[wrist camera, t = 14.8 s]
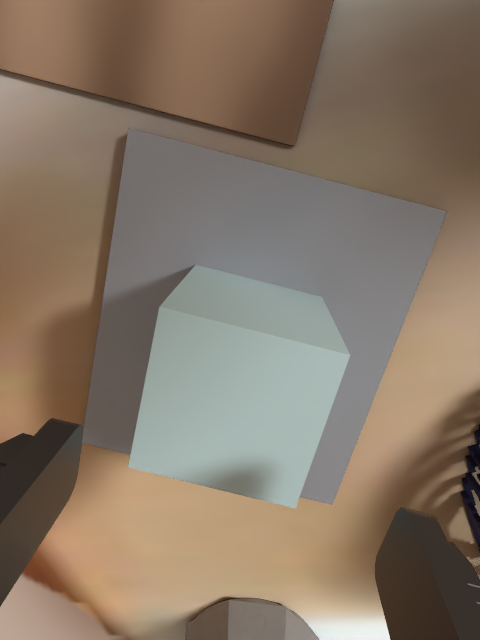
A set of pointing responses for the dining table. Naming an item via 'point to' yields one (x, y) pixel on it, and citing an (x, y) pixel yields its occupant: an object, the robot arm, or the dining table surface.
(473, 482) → the decorative bowl
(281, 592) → the dining table surface
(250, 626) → the coffeepot
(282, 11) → the brown coaster
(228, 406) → the pale green block
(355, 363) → the slate plate
